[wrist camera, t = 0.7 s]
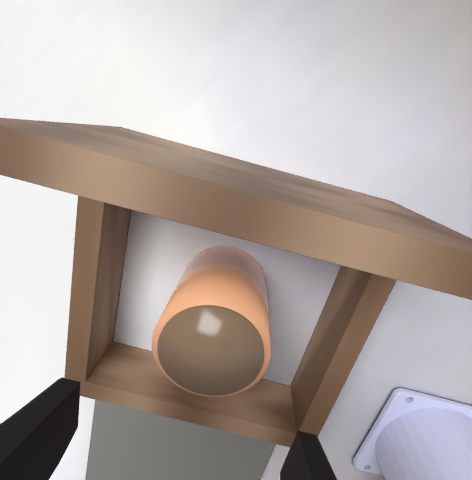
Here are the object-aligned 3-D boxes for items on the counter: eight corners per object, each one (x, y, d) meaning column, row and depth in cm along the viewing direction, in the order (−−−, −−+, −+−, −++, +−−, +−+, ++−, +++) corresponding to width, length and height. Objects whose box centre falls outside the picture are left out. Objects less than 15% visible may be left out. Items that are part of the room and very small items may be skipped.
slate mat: (283, 424, 22) (283, 426, 22) (241, 519, 26) (241, 521, 26) (99, 378, 21) (97, 380, 21) (85, 482, 25) (84, 484, 25)
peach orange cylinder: (276, 259, 18) (287, 319, 12) (253, 329, 19) (252, 412, 13) (192, 236, 17) (161, 287, 12) (176, 309, 19) (142, 384, 13)
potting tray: (391, 201, 16) (547, 274, 8) (301, 402, 21) (332, 581, 13) (119, 126, 16) (-42, 114, 7) (94, 350, 21) (-18, 500, 12)
